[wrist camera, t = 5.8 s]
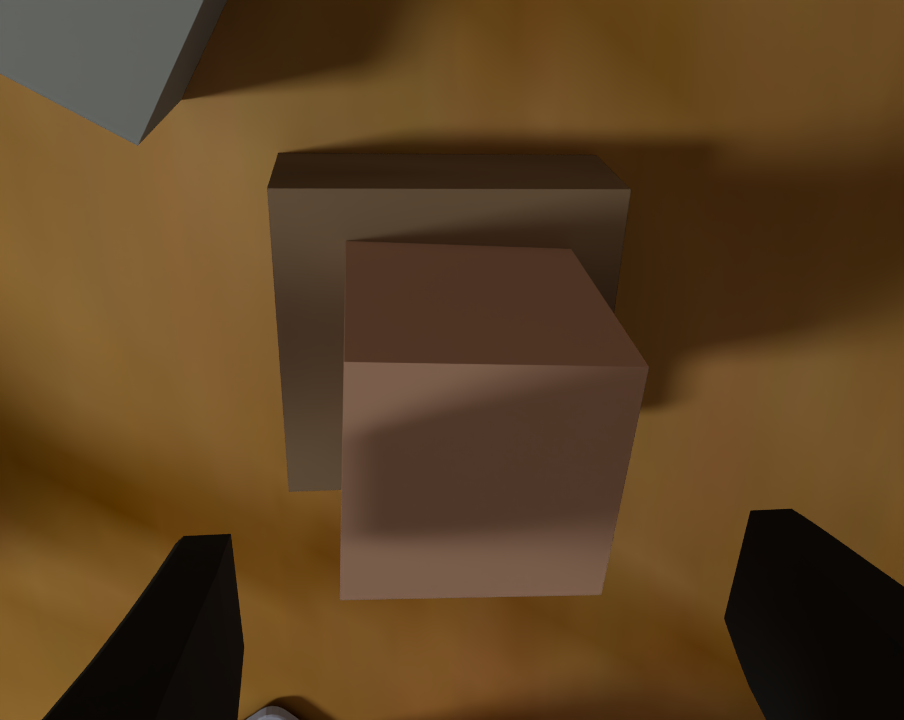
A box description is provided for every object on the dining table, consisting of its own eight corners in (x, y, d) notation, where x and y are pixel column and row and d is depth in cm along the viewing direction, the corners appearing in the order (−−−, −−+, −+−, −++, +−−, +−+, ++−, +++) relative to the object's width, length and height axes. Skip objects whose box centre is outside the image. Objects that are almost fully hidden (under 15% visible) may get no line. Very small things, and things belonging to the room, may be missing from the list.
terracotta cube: (542, 436, 19) (601, 594, 14) (342, 435, 18) (339, 599, 14) (571, 249, 17) (648, 366, 12) (345, 241, 16) (343, 362, 12)
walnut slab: (562, 413, 22) (590, 480, 20) (296, 420, 21) (288, 491, 19) (592, 151, 19) (630, 189, 16) (279, 149, 18) (267, 188, 16)
